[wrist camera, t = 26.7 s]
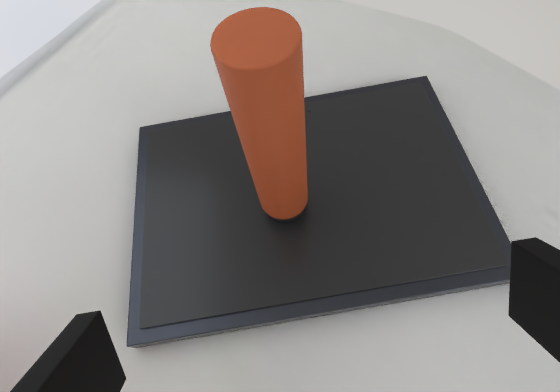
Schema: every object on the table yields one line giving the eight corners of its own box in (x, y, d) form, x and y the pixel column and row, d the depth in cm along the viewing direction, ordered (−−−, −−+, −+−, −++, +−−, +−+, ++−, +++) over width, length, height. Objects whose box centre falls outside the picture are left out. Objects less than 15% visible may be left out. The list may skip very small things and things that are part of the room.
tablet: (422, 86, 24) (427, 73, 23) (517, 282, 17) (530, 276, 16) (145, 135, 24) (138, 125, 23) (135, 348, 17) (124, 346, 16)
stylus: (303, 182, 20) (293, -1, 10) (312, 222, 18) (310, 58, 9) (260, 190, 20) (207, 14, 10) (265, 230, 19) (212, 76, 9)
